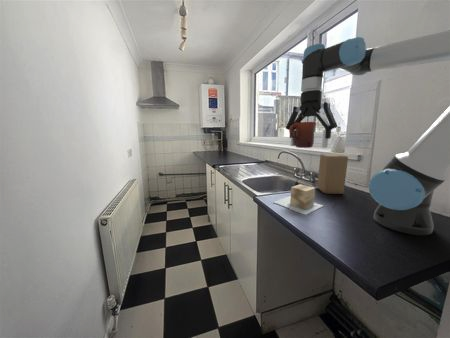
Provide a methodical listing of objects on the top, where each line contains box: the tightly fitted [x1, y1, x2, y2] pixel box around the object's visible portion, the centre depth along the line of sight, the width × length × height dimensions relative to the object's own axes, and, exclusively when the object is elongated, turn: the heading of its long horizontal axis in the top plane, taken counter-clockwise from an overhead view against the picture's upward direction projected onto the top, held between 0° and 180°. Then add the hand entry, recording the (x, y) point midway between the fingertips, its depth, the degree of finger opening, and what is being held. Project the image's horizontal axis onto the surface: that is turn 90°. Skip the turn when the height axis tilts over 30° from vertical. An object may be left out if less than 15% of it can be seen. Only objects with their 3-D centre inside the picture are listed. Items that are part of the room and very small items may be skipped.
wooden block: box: [316, 153, 349, 195], centre depth 98 cm, size 10×10×20 cm
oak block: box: [290, 184, 316, 209], centre depth 81 cm, size 7×7×8 cm
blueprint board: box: [273, 195, 324, 216], centre depth 83 cm, size 16×14×1 cm
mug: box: [288, 121, 318, 149], centre depth 77 cm, size 12×9×10 cm
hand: (307, 146), depth 76 cm, fingers open, 13 cm apart
